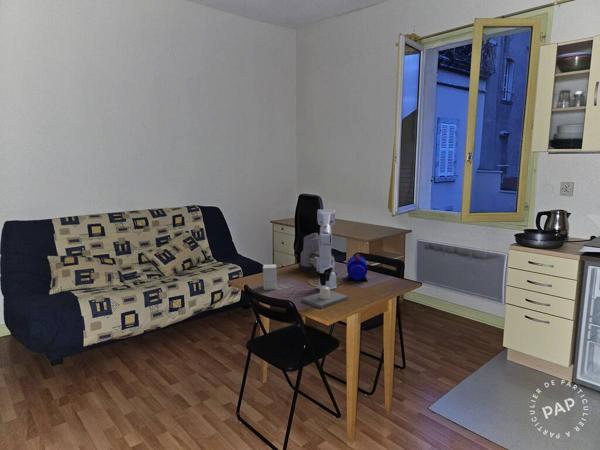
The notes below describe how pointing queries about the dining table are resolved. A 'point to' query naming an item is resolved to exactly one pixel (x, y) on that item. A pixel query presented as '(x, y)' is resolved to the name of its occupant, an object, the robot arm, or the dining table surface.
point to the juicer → (310, 254)
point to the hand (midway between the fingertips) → (324, 283)
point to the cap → (324, 292)
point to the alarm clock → (357, 268)
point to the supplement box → (269, 277)
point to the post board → (322, 303)
